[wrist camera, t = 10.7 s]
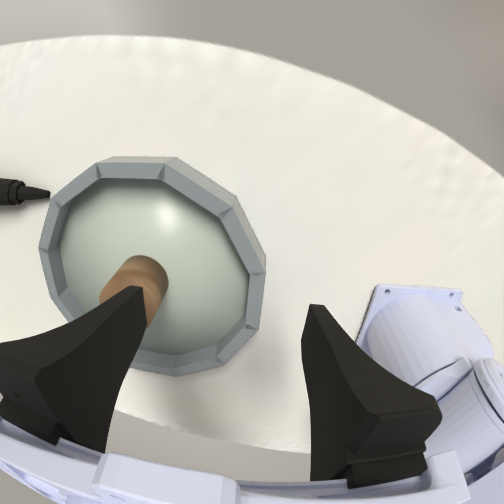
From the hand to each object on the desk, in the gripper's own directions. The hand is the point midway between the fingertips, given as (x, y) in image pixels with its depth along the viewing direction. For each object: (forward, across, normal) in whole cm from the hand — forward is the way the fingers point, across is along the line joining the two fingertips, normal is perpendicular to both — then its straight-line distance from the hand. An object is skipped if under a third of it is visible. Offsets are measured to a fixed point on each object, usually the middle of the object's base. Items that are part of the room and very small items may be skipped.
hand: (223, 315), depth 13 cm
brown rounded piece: (+9, +7, +4) cm, 12 cm away
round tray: (+9, +7, +4) cm, 12 cm away
